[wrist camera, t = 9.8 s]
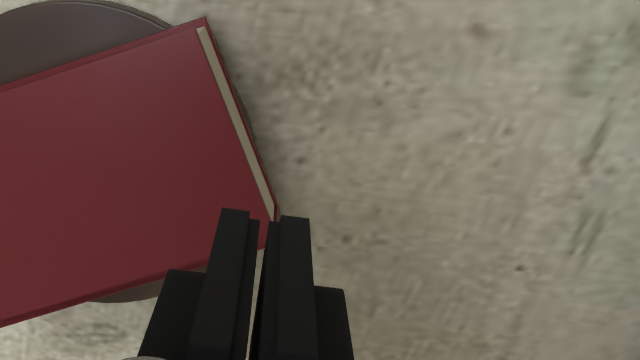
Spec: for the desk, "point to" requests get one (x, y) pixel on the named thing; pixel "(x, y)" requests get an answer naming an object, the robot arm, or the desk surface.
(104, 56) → the book
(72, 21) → the disc
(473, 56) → the desk surface
